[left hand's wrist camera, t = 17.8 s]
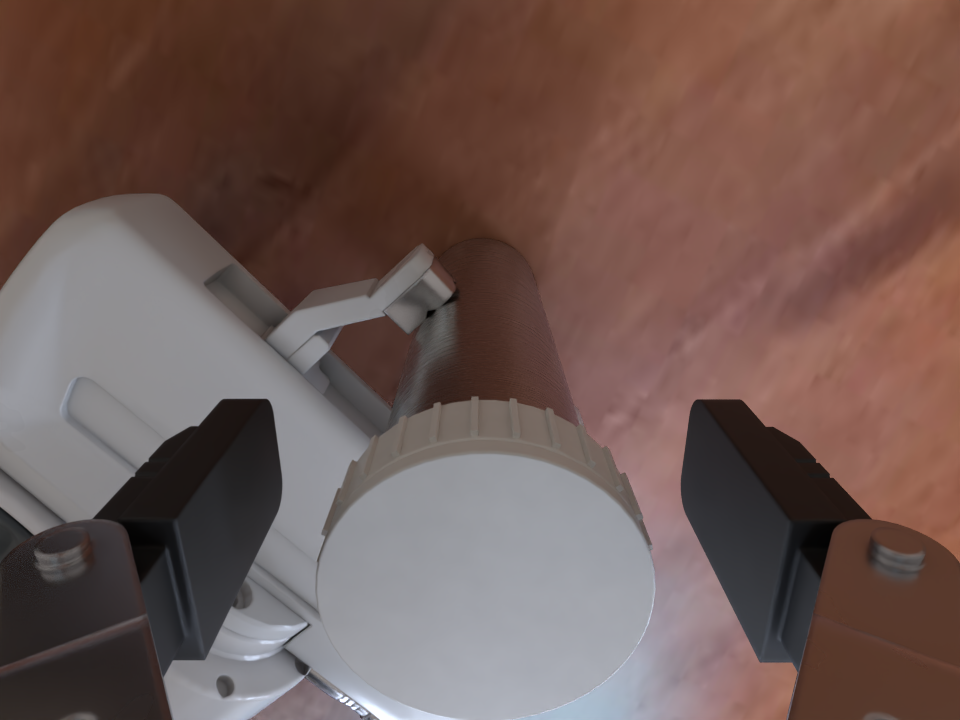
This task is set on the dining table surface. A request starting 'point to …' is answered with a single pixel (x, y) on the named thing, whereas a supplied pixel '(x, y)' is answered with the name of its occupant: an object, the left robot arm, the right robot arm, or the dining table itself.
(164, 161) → the dining table surface
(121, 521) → the left robot arm
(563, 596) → the lid
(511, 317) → the jar
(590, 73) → the dining table surface
